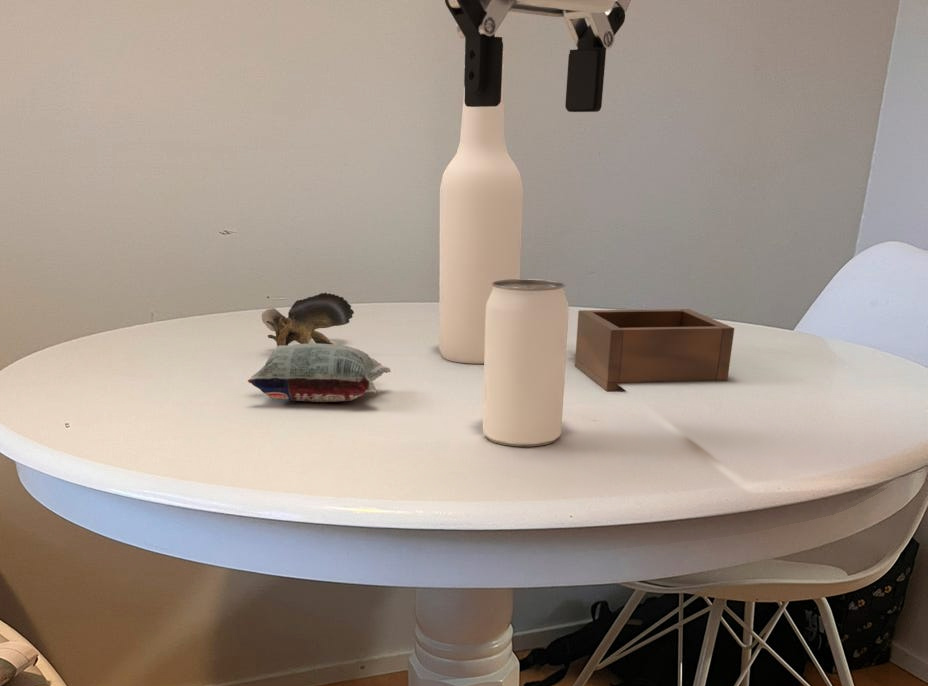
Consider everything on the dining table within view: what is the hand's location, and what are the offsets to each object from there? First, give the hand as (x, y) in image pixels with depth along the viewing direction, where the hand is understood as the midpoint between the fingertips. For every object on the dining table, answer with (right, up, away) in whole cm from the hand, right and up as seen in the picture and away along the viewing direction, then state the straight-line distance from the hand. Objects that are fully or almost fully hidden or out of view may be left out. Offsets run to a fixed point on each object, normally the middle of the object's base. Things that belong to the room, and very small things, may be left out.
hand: (534, 109), depth 70 cm
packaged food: (-18, -15, +23) cm, 33 cm away
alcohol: (-3, -6, +41) cm, 42 cm away
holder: (+15, -10, +32) cm, 37 cm away
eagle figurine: (-22, -5, +42) cm, 48 cm away
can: (0, -21, +11) cm, 24 cm away
